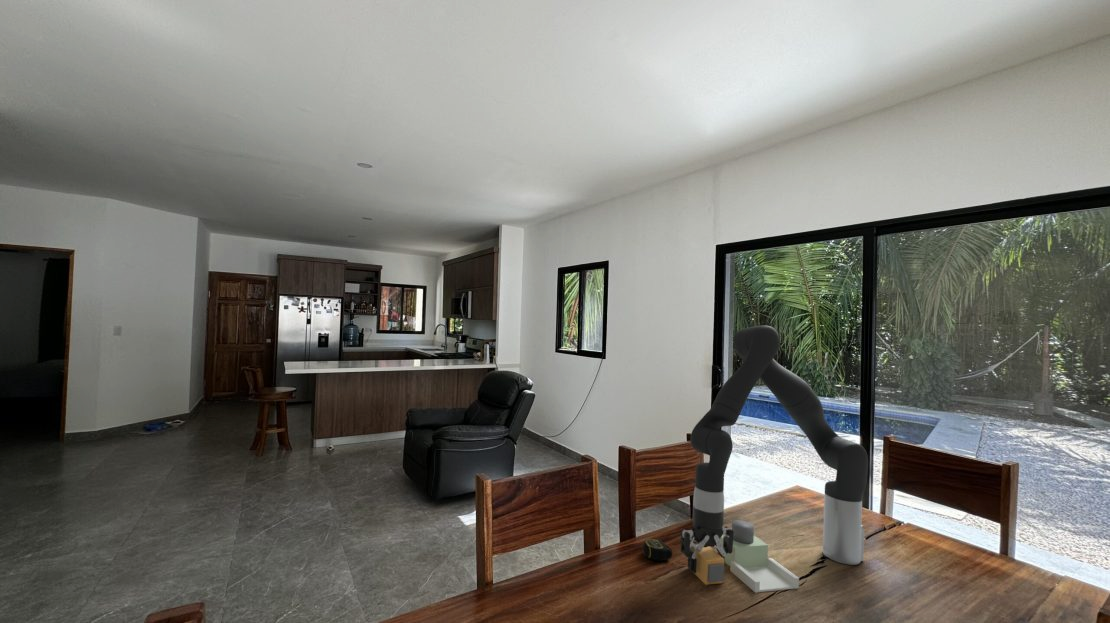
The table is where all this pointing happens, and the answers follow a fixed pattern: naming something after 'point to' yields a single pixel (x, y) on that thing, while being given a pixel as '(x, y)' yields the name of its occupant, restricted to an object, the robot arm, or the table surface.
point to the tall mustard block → (709, 566)
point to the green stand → (756, 562)
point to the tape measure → (656, 550)
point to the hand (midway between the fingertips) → (705, 570)
